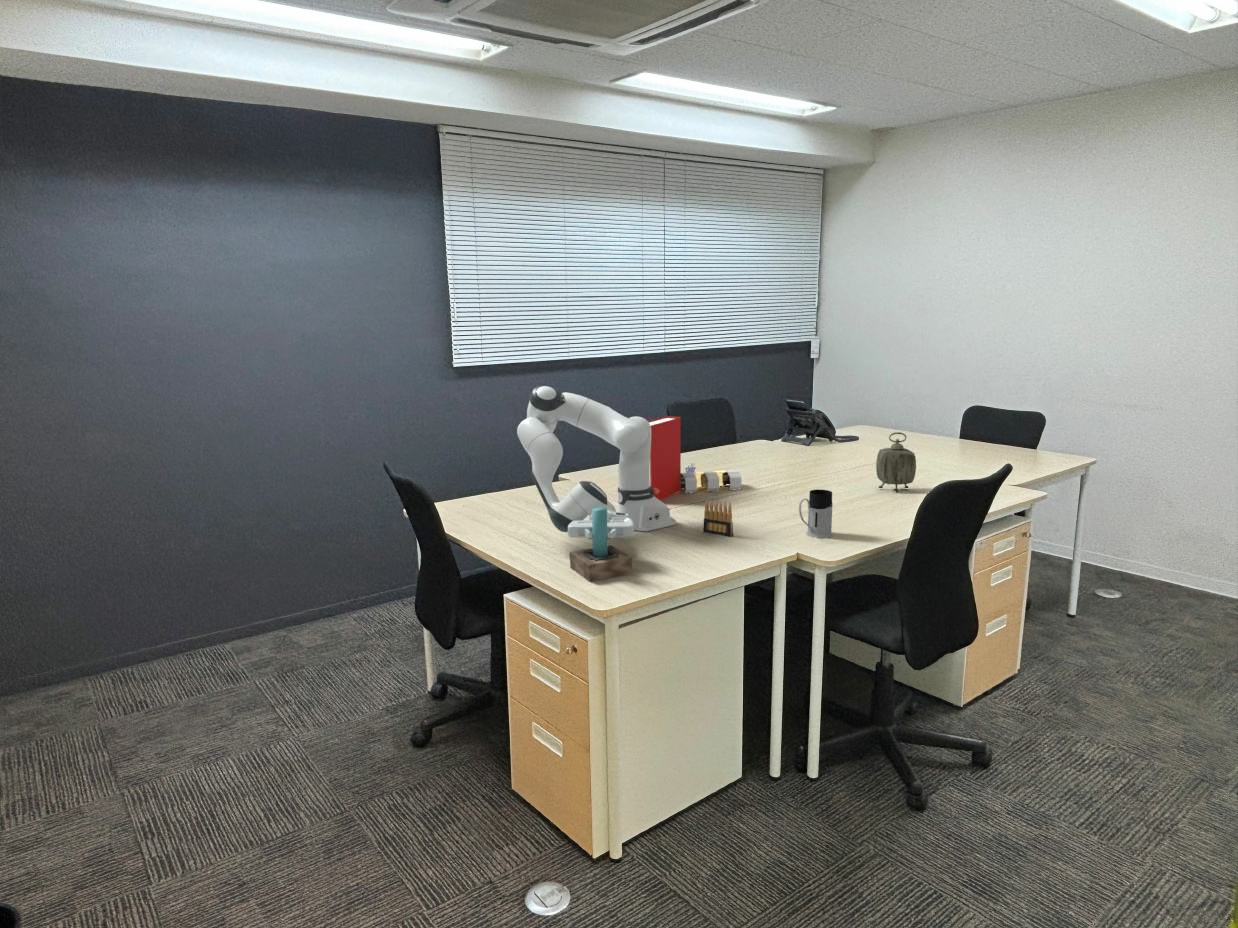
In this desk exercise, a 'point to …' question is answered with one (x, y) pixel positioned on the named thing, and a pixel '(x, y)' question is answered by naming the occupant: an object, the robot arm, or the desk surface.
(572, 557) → the socket block
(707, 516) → the ammunition clip
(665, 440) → the book
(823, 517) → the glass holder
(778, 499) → the desk surface
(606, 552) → the peg
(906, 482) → the tabletop clock
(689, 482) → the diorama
